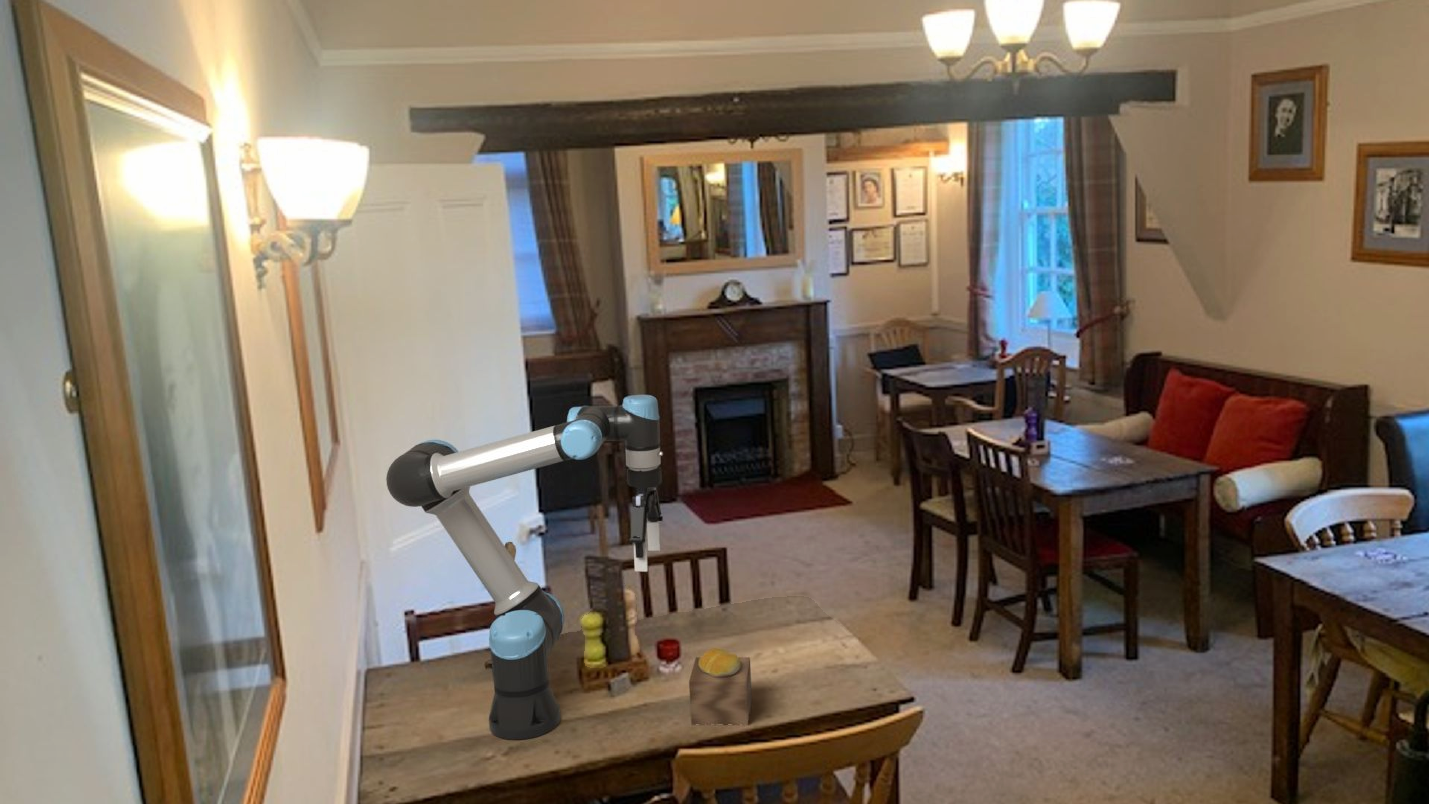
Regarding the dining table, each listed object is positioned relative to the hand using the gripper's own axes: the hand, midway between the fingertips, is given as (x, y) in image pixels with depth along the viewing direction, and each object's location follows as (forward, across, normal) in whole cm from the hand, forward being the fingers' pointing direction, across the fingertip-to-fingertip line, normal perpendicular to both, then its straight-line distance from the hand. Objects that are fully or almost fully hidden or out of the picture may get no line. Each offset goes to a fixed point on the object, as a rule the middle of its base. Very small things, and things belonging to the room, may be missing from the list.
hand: (648, 560), depth 234 cm
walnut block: (+31, -8, -17) cm, 36 cm away
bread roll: (+22, -8, -16) cm, 28 cm away
